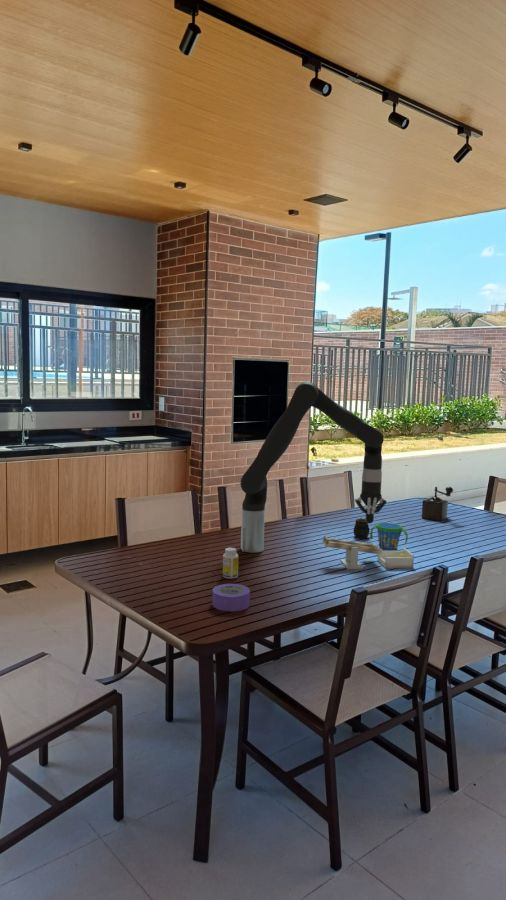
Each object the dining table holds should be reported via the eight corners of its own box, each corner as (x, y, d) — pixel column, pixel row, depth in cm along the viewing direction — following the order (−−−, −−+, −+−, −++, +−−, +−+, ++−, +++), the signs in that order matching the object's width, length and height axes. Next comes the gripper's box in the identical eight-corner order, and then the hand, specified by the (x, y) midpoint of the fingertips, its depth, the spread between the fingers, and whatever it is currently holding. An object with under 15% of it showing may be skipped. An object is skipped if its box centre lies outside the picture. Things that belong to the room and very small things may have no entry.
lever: (326, 546, 245) (327, 539, 244) (319, 538, 256) (320, 531, 256) (381, 554, 248) (382, 547, 247) (372, 546, 259) (373, 539, 259)
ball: (405, 564, 251) (398, 561, 250) (402, 562, 254) (395, 559, 253) (409, 557, 250) (402, 554, 250) (406, 554, 254) (399, 551, 253)
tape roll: (240, 614, 196) (241, 598, 195) (206, 608, 200) (206, 592, 200) (255, 601, 207) (255, 586, 206) (221, 596, 211) (222, 581, 211)
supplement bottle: (237, 574, 234) (238, 546, 233) (238, 579, 229) (239, 551, 228) (222, 574, 234) (222, 546, 233) (222, 579, 228) (223, 551, 227)
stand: (347, 569, 244) (348, 548, 243) (340, 560, 255) (341, 540, 254) (362, 568, 245) (363, 548, 244) (355, 560, 256) (355, 540, 255)
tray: (385, 568, 246) (386, 555, 246) (377, 560, 256) (378, 548, 256) (413, 567, 248) (413, 555, 247) (404, 560, 257) (404, 548, 257)
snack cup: (409, 549, 275) (411, 525, 274) (402, 554, 266) (403, 530, 265) (374, 543, 282) (375, 520, 281) (366, 548, 273) (367, 525, 272)
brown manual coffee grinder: (420, 518, 336) (422, 484, 334) (428, 514, 345) (430, 481, 343) (449, 522, 327) (451, 487, 325) (457, 519, 336) (459, 485, 333)
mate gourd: (368, 535, 297) (369, 514, 295) (369, 539, 289) (371, 518, 288) (352, 534, 297) (353, 513, 296) (353, 539, 290) (354, 517, 288)
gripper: (357, 481, 249) (355, 525, 251) (391, 481, 251) (388, 525, 253) (352, 478, 256) (350, 520, 258) (385, 478, 258) (382, 520, 260)
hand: (369, 522), depth 256 cm, fingers closed
